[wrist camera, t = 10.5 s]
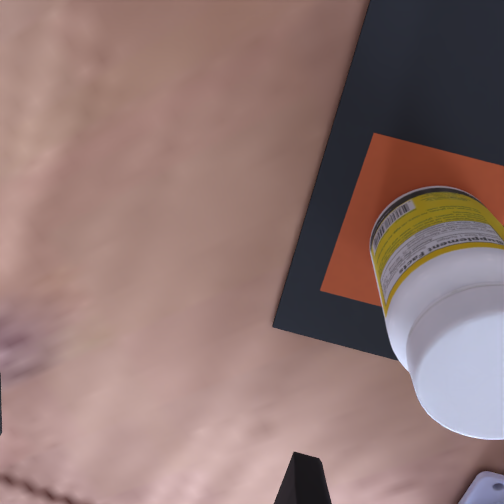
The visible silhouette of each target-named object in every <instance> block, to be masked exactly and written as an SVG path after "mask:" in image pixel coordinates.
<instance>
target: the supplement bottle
mask: <svg viewBox="0 0 504 504" xmlns="http://www.w3.org/2000/svg"><path fill="white" fill-rule="evenodd" d="M370 255H371V260H372V264H373V268H374V272H375V277H376V281H377V286H378V290H379V295H380V299H381V304H382V308H383V313H384V318H385V323H386V328H387V332H388V336H389V340H390V344H391V346H392V349H393V351H394V353H395V355H396V357H397V359H398V360H399V361H400V362H401V364H402V365H403V366H404V367H405V368H406V369H407V370H408V371H409V372H410V375H411V378H412V382H413V385H414V389H415V392H416V395H417V398H418V400H419V402H420V404H421V405H422V407H423V408H424V409H425V411H426V412H427V413H428V414H429V415H430V416H431V417H432V418H433V419H434V420H435V421H436V422H438V423H439V424H441V425H442V426H444V427H445V428H447V429H449V430H451V431H453V432H456V433H458V434H461V435H464V436H468V437H473V438H478V439H486V440H503V439H504V226H503V225H502V224H501V223H500V222H499V221H498V220H497V219H496V218H495V217H494V216H493V214H492V213H491V212H490V211H489V210H488V209H487V208H486V207H485V206H484V204H482V203H481V202H480V201H479V200H478V199H477V198H475V197H474V196H473V195H471V194H469V193H467V192H465V191H463V190H460V189H457V188H453V187H448V186H428V187H423V188H419V189H416V190H412V191H410V192H408V193H405V194H403V195H402V196H400V197H398V198H397V199H395V200H394V201H393V202H391V203H390V204H389V205H388V206H387V207H386V208H385V209H384V210H383V211H382V213H381V214H380V215H379V217H378V219H377V220H376V222H375V224H374V227H373V230H372V232H371V237H370Z"/></svg>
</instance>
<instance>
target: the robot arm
mask: <svg viewBox="0 0 504 504" xmlns="http://www.w3.org/2000/svg"><path fill="white" fill-rule="evenodd" d="M1 433H2V412H1V375H0V435H1ZM274 504H332V503H331V499H330V495H329V491H328V487H327V483H326V479H325V475H324V470H323V465H322V462H321V461H320V459H319V458H316V457H312V456H308V455H305V454H301V453H297V452H294V453H293V455H292V458H291V460H290V463H289V466H288V468H287V471H286V473H285V476H284V479H283V481H282V484H281V487H280V489H279V492H278V494H277V497H276V500H275V502H274ZM458 504H504V475H501V474H497V473H494V472H490V471H484V472H481V473H479V474H478V475H477V476H476V478H475V479H474V481H473V482H472V484H471V485H470V487H469V488H468V490H467V491H466V493H465V494H464V496H463V497H462V499H461V500H460V502H459V503H458Z"/></svg>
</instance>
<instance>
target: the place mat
mask: <svg viewBox="0 0 504 504" xmlns="http://www.w3.org/2000/svg"><path fill="white" fill-rule="evenodd" d="M428 186H448V187H453V188H457V189H460V190H463V191H465V192H467V193H469V194H471V195H473V196H474V197H475V198H477V199H478V200H479V201H480V202H481V203H482V204H484V206H485V207H486V208H487V209H488V210H489V211H490V212H491V213H492V214H493V216H494V217H495V218H496V219H497V220H498V221H499V222H500V223H501V224H502V225H503V226H504V0H370V3H369V6H368V10H367V13H366V16H365V20H364V23H363V26H362V30H361V33H360V36H359V40H358V43H357V46H356V50H355V53H354V56H353V60H352V63H351V66H350V70H349V73H348V76H347V80H346V83H345V86H344V90H343V93H342V96H341V100H340V103H339V106H338V110H337V113H336V116H335V120H334V123H333V126H332V129H331V133H330V136H329V139H328V143H327V146H326V149H325V153H324V156H323V159H322V163H321V166H320V169H319V173H318V176H317V179H316V183H315V186H314V189H313V193H312V196H311V199H310V203H309V206H308V209H307V213H306V216H305V219H304V223H303V226H302V229H301V233H300V236H299V239H298V243H297V246H296V249H295V253H294V256H293V259H292V263H291V266H290V269H289V273H288V276H287V279H286V283H285V286H284V289H283V293H282V296H281V299H280V303H279V306H278V309H277V313H276V316H275V319H274V323H273V327H274V328H277V329H281V330H285V331H289V332H293V333H296V334H300V335H304V336H308V337H311V338H315V339H319V340H323V341H326V342H330V343H334V344H338V345H341V346H345V347H349V348H353V349H357V350H360V351H364V352H368V353H372V354H375V355H379V356H383V357H387V358H390V359H394V360H398V359H397V357H396V355H395V353H394V351H393V349H392V346H391V344H390V340H389V336H388V332H387V328H386V323H385V318H384V313H383V308H382V304H381V299H380V295H379V290H378V286H377V281H376V277H375V272H374V268H373V264H372V260H371V255H370V237H371V232H372V230H373V227H374V224H375V222H376V220H377V219H378V217H379V215H380V214H381V213H382V211H383V210H384V209H385V208H386V207H387V206H388V205H389V204H390V203H391V202H393V201H394V200H395V199H397V198H398V197H400V196H402V195H403V194H405V193H408V192H410V191H412V190H416V189H419V188H423V187H428ZM398 361H399V360H398Z"/></svg>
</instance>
